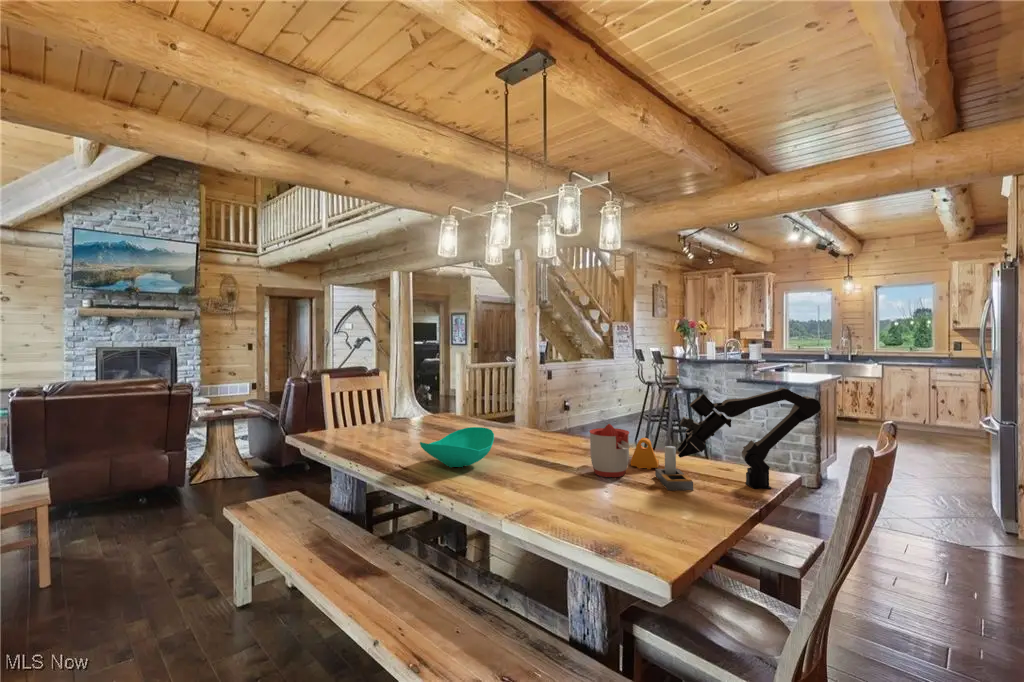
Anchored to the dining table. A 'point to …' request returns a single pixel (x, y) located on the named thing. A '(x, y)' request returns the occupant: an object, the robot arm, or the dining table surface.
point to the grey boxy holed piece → (674, 480)
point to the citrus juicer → (609, 451)
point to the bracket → (644, 455)
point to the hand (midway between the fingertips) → (678, 453)
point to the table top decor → (461, 446)
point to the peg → (670, 460)
